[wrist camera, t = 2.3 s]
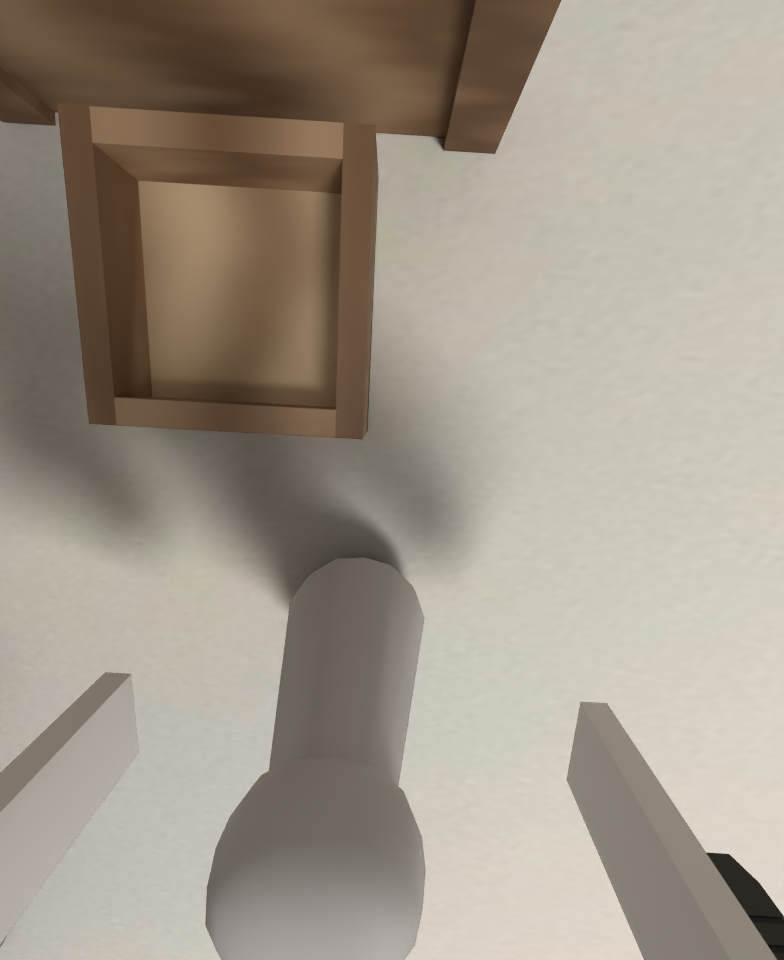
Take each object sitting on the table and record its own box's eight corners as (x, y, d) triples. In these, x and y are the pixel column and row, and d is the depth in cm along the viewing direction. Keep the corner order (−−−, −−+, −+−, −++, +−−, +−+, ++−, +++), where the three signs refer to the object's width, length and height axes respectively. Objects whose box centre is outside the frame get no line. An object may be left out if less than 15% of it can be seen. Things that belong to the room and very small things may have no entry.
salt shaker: (275, 592, 20) (70, 951, 7) (360, 515, 19) (298, 762, 6) (360, 669, 21) (311, 1108, 8) (444, 598, 20) (538, 961, 7)
